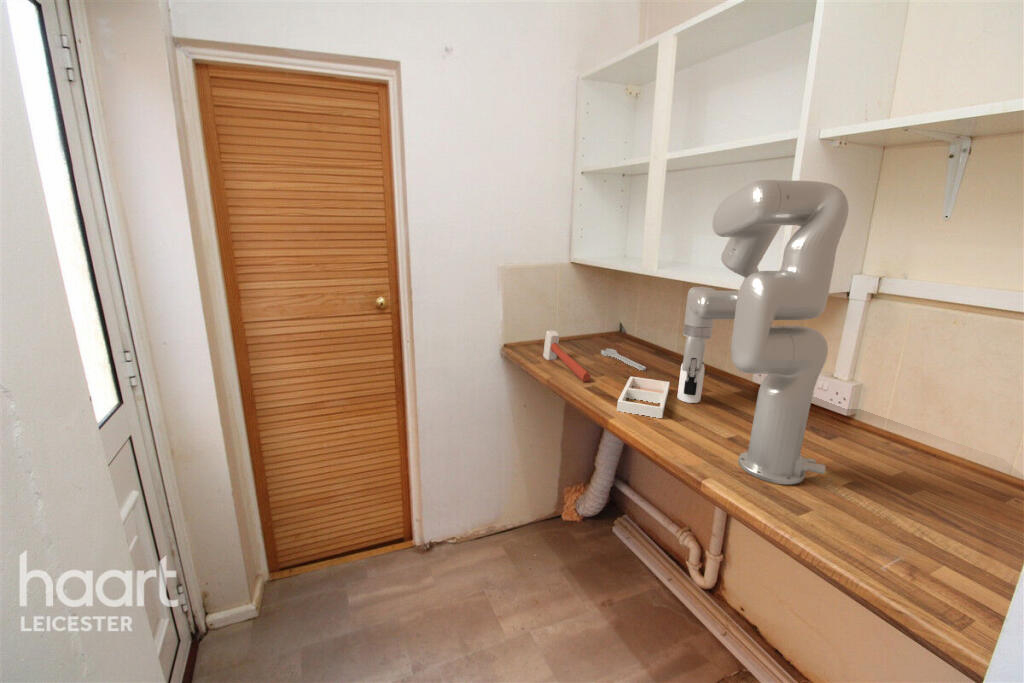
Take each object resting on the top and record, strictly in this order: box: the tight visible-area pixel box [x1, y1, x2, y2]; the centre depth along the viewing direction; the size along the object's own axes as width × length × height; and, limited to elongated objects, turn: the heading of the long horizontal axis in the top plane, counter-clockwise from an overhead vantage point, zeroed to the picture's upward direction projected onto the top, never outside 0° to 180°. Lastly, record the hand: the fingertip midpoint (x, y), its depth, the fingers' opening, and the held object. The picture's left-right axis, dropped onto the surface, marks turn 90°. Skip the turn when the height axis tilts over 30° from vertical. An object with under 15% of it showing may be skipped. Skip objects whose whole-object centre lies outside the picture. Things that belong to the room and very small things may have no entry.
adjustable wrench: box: [600, 348, 647, 372], centre depth 175 cm, size 25×6×2 cm, turn 18°
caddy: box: [616, 376, 670, 419], centre depth 137 cm, size 12×23×3 cm, turn 158°
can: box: [677, 360, 706, 404], centre depth 137 cm, size 6×6×12 cm
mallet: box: [542, 330, 591, 383], centre depth 163 cm, size 11×4×30 cm
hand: (689, 391), depth 136 cm, fingers closed on can, 3 cm apart
